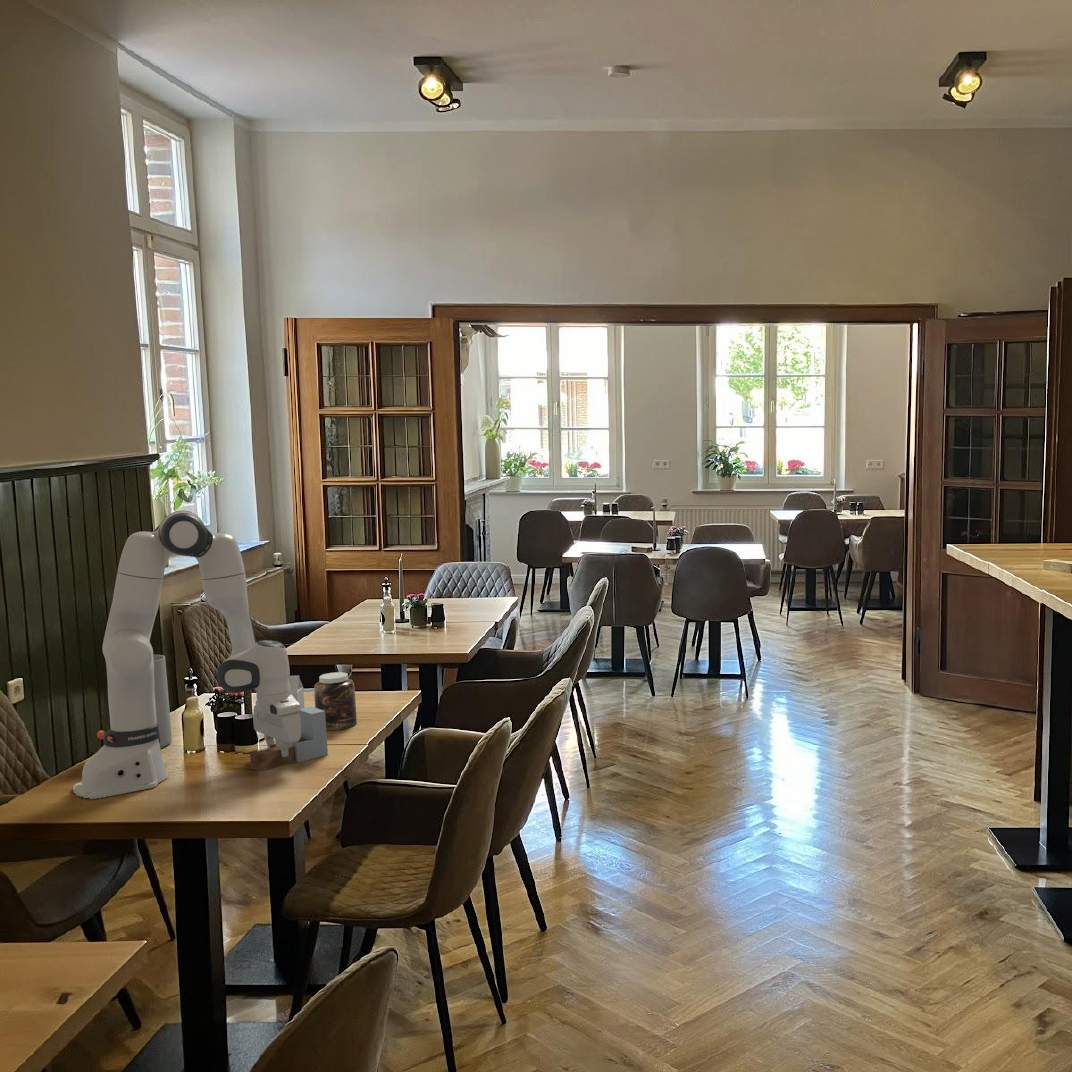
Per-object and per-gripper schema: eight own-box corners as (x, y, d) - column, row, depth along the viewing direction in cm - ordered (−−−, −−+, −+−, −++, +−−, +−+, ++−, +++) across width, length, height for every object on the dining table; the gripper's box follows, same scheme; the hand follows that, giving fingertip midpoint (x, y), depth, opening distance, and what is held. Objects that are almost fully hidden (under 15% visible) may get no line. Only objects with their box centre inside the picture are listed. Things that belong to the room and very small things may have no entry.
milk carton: (300, 745, 297) (296, 678, 295) (275, 746, 297) (270, 679, 295) (306, 738, 304) (302, 672, 302) (282, 739, 304) (277, 673, 302)
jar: (322, 720, 323) (318, 671, 321) (360, 719, 322) (357, 670, 321) (312, 731, 311) (308, 680, 309) (352, 730, 310) (348, 679, 309)
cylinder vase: (123, 744, 307) (115, 658, 305) (168, 736, 313) (161, 652, 310) (128, 754, 296) (120, 666, 294) (175, 746, 302) (168, 659, 299)
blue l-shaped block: (297, 762, 281) (294, 718, 280) (284, 757, 287) (281, 713, 285) (327, 754, 287) (324, 711, 286) (314, 749, 292) (311, 706, 291)
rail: (257, 770, 276) (256, 752, 275) (251, 768, 278) (249, 749, 278) (308, 757, 285) (306, 739, 285) (301, 755, 288) (300, 736, 287)
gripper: (245, 698, 286) (249, 748, 287) (281, 710, 270) (285, 764, 272) (267, 693, 290) (270, 743, 291) (303, 705, 274) (307, 758, 276)
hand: (278, 753), depth 281 cm, fingers open, 5 cm apart
